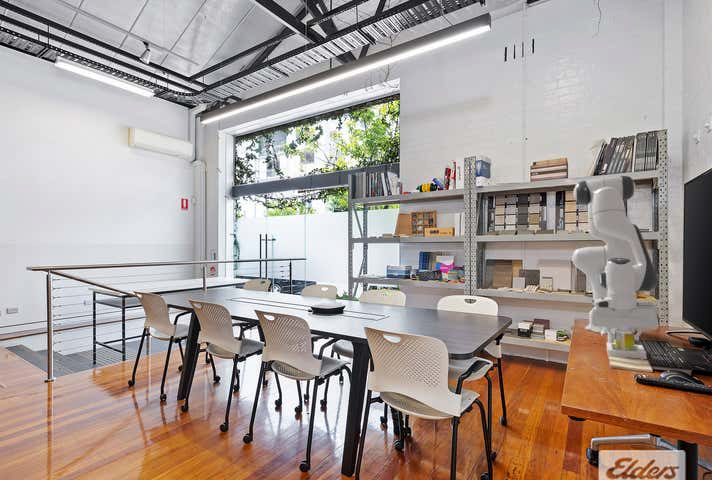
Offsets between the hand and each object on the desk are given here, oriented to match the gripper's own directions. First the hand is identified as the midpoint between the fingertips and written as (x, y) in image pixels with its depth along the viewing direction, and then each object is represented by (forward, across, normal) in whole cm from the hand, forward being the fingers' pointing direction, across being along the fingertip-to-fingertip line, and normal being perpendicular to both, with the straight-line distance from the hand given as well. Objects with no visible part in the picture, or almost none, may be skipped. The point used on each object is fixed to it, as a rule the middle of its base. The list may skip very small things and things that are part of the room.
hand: (624, 339), depth 137 cm
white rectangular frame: (+5, 0, 0) cm, 5 cm away
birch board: (+5, 0, +13) cm, 14 cm away
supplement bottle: (+5, 0, 0) cm, 5 cm away
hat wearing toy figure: (+6, +3, -13) cm, 14 cm away
